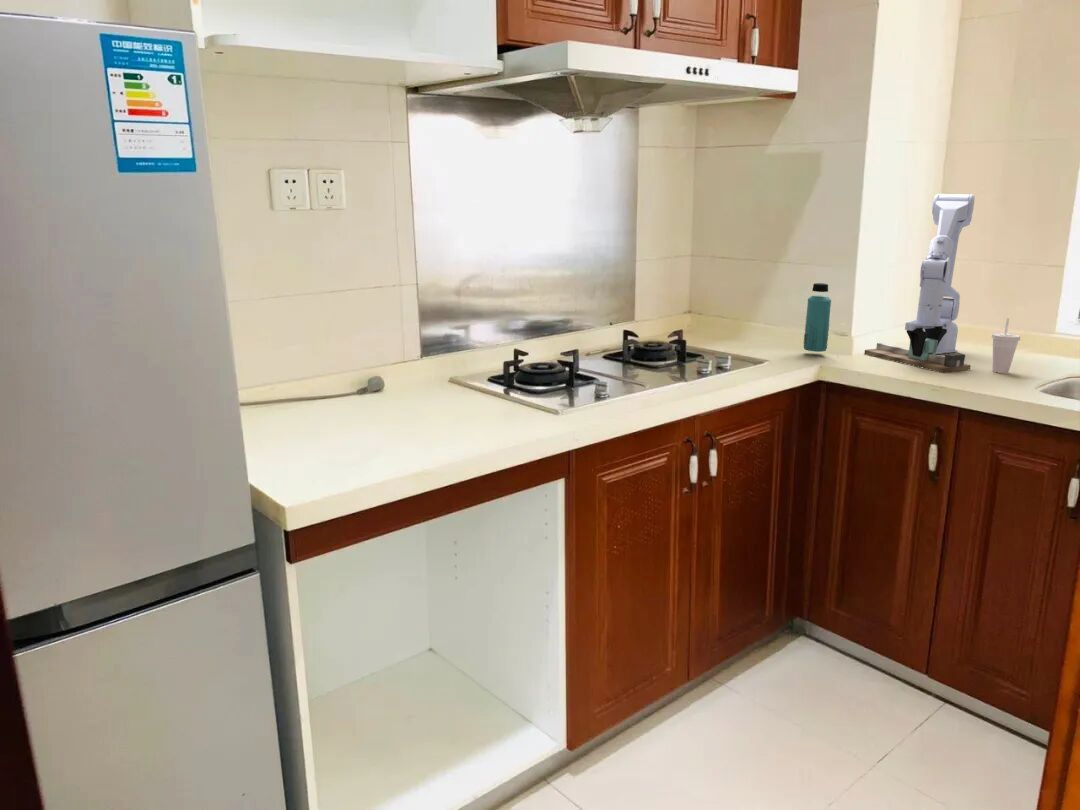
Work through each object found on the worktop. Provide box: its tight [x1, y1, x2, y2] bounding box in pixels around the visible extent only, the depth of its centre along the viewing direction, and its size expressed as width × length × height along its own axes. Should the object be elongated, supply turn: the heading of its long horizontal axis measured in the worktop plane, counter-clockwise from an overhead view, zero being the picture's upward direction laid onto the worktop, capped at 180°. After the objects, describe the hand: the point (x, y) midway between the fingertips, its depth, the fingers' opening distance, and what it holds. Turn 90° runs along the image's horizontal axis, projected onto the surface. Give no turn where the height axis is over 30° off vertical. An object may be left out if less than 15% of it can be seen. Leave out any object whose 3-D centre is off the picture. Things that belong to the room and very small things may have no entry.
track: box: [863, 342, 972, 374], centre depth 223 cm, size 26×10×4 cm, turn 26°
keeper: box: [908, 338, 938, 361], centre depth 221 cm, size 5×4×5 cm
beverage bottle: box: [803, 282, 832, 353], centre depth 229 cm, size 6×7×20 cm
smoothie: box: [991, 317, 1021, 374], centre depth 211 cm, size 6×6×14 cm
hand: (923, 355), depth 221 cm, fingers closed on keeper, 4 cm apart
